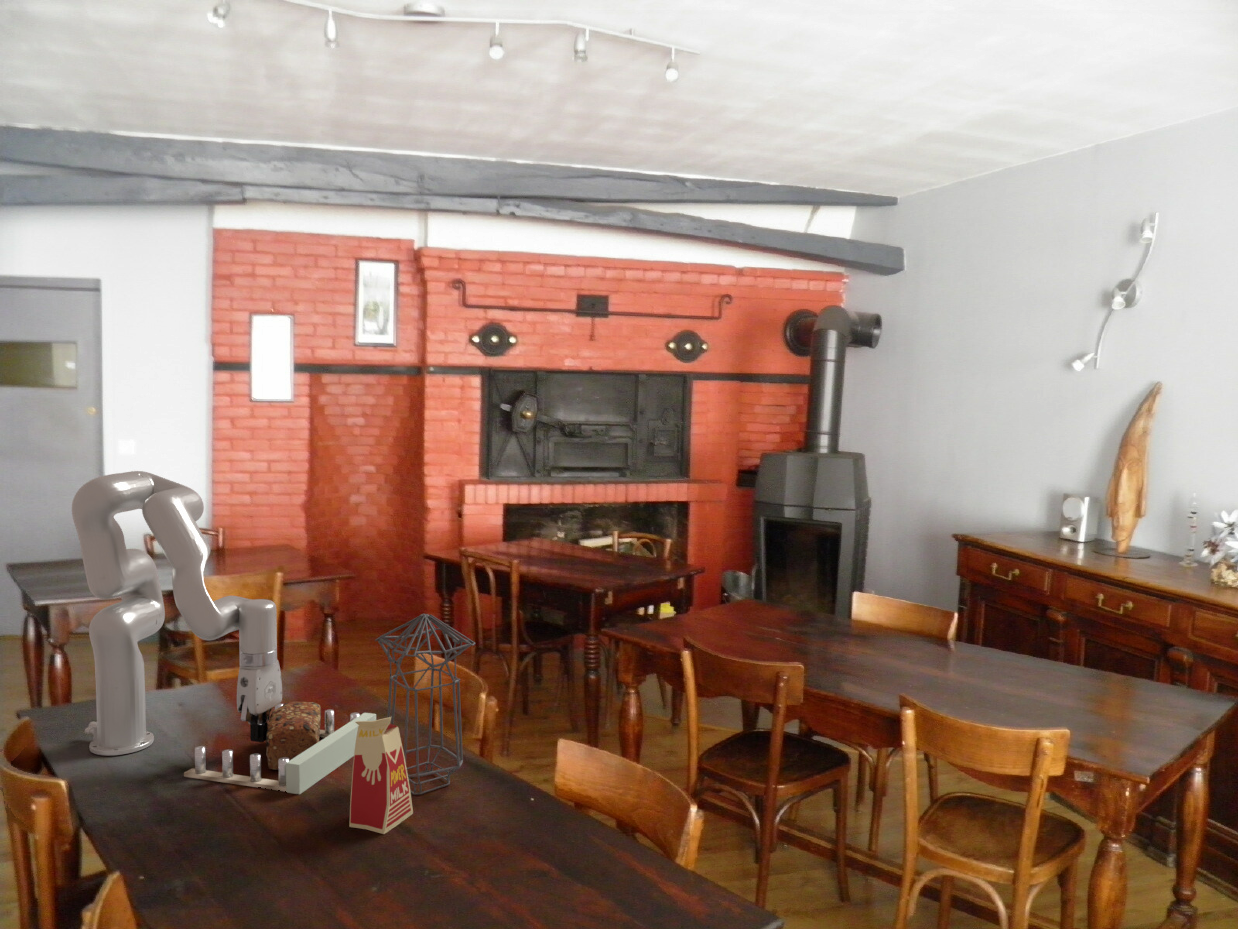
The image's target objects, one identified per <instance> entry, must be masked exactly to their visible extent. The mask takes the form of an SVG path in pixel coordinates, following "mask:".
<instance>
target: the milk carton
mask: <svg viewBox="0 0 1238 929" xmlns="http://www.w3.org/2000/svg"><path fill="white" fill-rule="evenodd" d="M391 717H392V716H390V717H388V718H387V717H384V718H380V719H376V720H375V721H356V722H355V723H357V724H358V725H359V726H358V731H357V737H356V743H355V752H354V756H353V762H352V773H351V787H350V800H349V804H350V805H349V824H348V825H349V828H356V829H362V830H368V831H371V832H375V833H377V834H378V833H379V834H381V835H385V834H387V833H388V832H390V831H391V830H392V829H394V828H395V827H397V826H398V825H400V824H401V823H403V822H404V821H405V820H407V819H408V818H409V817H410V816H412V815H413V814H414V809H413V802H412V793H411V792H410V790H411V786H410V781H409V779H410V778H409V779H408V775H409V773H408V770H407V768H408V767H407V761H406V762H405V756H404V752H403V751H404V746H403V743H402V738H401V734H400V728H399V726H398V725H395V724H394V725H393V724H391Z"/></svg>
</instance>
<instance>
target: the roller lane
mask: <svg viewBox="0 0 1238 929" xmlns="http://www.w3.org/2000/svg"><path fill="white" fill-rule="evenodd" d="M284 704H285V703H282V702H280V703H279V704H278V705H276V706H275V707H274V710H276V709H277V708H279V707H281V706H283V705H284ZM349 717H350V719H349V720H350V721H349V722H347V723H346V724H345V725H343V726H341V727H340V728H338V729H336V730H335V710H334V709H327V710H326V709H325V710H324V729H320V735H319V738H320V737H321V738H322V739H321V738H320V739H321V740H319V742H318V743H316V744H315V745H313V746H312V747H310V748H309V749H307V750H305V751H304V752H302V753H301V754H299V755H298V756H296V757H295V758H293V759H291V760H290V761H289V758H288V757H283V758H280V759H279V760H278V765H279V770H278V780H276V779H269V778H262V758H261V757H262V754H261V753H259V752H258V753H252V754H250V755H249V775H250V776H248V775H242V774H234V750H233V749H224V750H222V752H221V757H222V758H221V759H222V760H221V761H222V762H221V764H222V765H221V770H222V771H221V772H220V771H213V770H207V767H206V766H207V765H206V764H207V762H206V761H207V760H206V746H205V745H198V746H195V747H194V767H191V768H189V769H188V770H185V771H184V772H183V777H185V778H189V779H198V780H199V779H200V780H204V781H212V782H218V783H219V782H220V783H225V784H232V785H233V784H234V785H238V786H247V787H251V788H258V787H261V788H260V789H265V788H266V789H267V790H271V789H272V790H273V791H278V790H280V791H279V792H285V791H286V792H287V793H288V794H295V795H301V794H302V793H304V792H305V791H307V790H308V789H310V788H311V787H313V786H314V785H315V784H316V783H318V782H319V781H320V780H322V779H324V777H326V776H328V775H329V774H330V773H331V772H333V771H335V770H336V769H337V768H339V767H340V766H342V765H343V764H345V763H346V762H347V761H350V760H351V759H352V758H354V752H355V743H356V737H357V731H358V726H359V725H358V724H357V723H355V722H356V721H375V720H377V714H376V713H372V712H363V713H362V714H360V713H359V712H351V713H350V716H349Z"/></svg>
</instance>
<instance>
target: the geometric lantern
mask: <svg viewBox="0 0 1238 929" xmlns="http://www.w3.org/2000/svg"><path fill="white" fill-rule="evenodd" d="M407 626H408V627H407ZM435 626H436V627H435ZM405 627H407V628H406V629H404V631H402V633H400V635H392V634H393V633H395V632H397V631H399V630H401V629H403V628H405ZM428 627H429V629H428ZM415 628H416V630H415V631H414V629H415ZM413 631H414V633H413V634H411V633H412V632H413ZM436 631H441V632H442V634H443V636H444V638H445V641H446V643H447V645H448V647H449V648H448V649H445V647H444V644H443V642H442V641H441V640H440V637H439V636H438V634H437V632H436ZM423 635H425V636H426V637H425V638H424V639H423V640H422V641H421V639H422V636H423ZM432 635H433V636H434V637H435V640H436V642H437V644H438V645H439V646H440V648H441V650H432V649H431V648H432V647H431V641H430V638H431V636H432ZM408 638H411V640H410V641H409V643H408V642H407V641H408ZM416 638H417V641H416V646H415V647H412V645H413V643H414V641H415V640H416ZM449 638H451V641H452V642H453V647H452V643H451V641H450V640H449ZM391 639H394V640H391ZM399 640H400V641H399ZM374 641H375V642H378V644H379V645H380V647H381V648H382V650H383V651H384V653H385V655H386V656H387V661H388V662H389V685H388V686H389V687H388V699H387V700H388V702H387V713H386V714H387V715H386V718H388V717H391V721H390V724H393V725H395V724H394V722H395V721H394V720H395V711H396V698H397V685H399V686H400V687H402V688H403V689H405V690H406V700H405V702H406V703H405V717H404V718H405V719H404V739H403V741H404V742H403V752H404V756H405V762H406V763H407V754H408V753H412V752H415V764H414V765H412V766H411V765H410V766H408V767H406V768H407V771H408V770H411V769H414V768H415V769H416V770H415V772H416V773H414V774H408V779H409V783H411V784H412V785H413V791H412V789H410V792H411V795H414V796H418V795H424V794H427V793H429V792H431V791H432V792H433V791H435V790H438V789H440V788H444V787H447V786H450V783H451V775H452V774H454V773H455V772H457V771H458V770H459V769H460V768H461V767H462V764H463V762H464V754H463V753H464V751H463V735H462V734H463V732H462V730H463V729H462V712H461V711H462V707H461V688H460V687H461V684H460V682H461V678H458V677H457V656H461V655H462V653H463V652H464V651H466V650H467V649H469V648H470V647H473V646H474V645H476V642H475V641H473V640H472V639H470V638H469V637H467V636H466V635H464V634H462V633H461V632H459V631H458V630H456V629H455V628H453V627H451V626H450V625H448V624H447V623H446V622H445V623H444V621H442V620H440V619H439V618H437V617H436V616H434V615H433V614H428V613H422V614H420V615H419V616H417V617H414V618H413V619H410V620H409V621H407V622H405V623H404V624H401V625H400V626H398V627H395V628H394V629H392V630H389V631H388V632H386V633H383V634H381V635H379V637H377V638H376V639H375V640H374ZM398 641H399V642H398ZM403 643H404V646H403V645H402V644H403ZM407 643H408V644H407ZM425 643H427V649H428V650H420V649H421V648H422V646H423V645H424V644H425ZM463 643H465V644H463ZM385 645H387V647H385ZM457 645H459V646H457ZM394 646H395V647H394ZM399 648H400V649H402V650H398V649H399ZM390 649H391V651H390ZM457 650H458V651H457ZM410 651H414V652H413V653H412V654H409V652H410ZM390 652H391V654H392V656H391V655H390ZM395 653H397V654H400V657H398V658H397V659H396V657H395ZM453 653H454V654H453ZM425 654H427V655H429V656H430V660H431V662H429V661H428V659H427V658H426V657H425V656H424V655H425ZM437 654H438V655H439V654H444V661H443V662H439V663H436V664H434V655H437ZM452 654H453V655H452ZM420 655H421V656H420ZM450 656H451V657H450ZM405 657H413V658H415V657H416V658H417V659H418V660H420V661H421V662H423V663H425V664H426V665H428V667H427V668H423V669H418V670H412V671H407V672H403V671H402V669H401V666H402V662H403V658H405ZM452 660H454V675H453V672H452V671H451V668H450V666H449V664H448V663H450V661H452ZM392 663H393V664H394V665H395V666H396V670H395V673H394V674H393V675H392ZM437 667H440V668H437ZM444 667H446V669H447V671H446V670H444V669H443V668H444ZM428 671H430V672H431V673H430V675H431V676H430V687H429V686H428V687H424V688H416V687H417V685H418V684H419V683H420V681H421V680H422V679H423V677H424V676H425V674H427V672H428ZM420 672H423V673H422V674H421V676H420V677H419V679H418V680H417V682H416V683H415V684H414V686H413V687H410V686H409V684H408V682H407V680H406V677H405V675H409V674H415V673H420ZM435 672H438V685H434V683H435V682H434V680H435V675H434V674H435ZM442 673H443V674H445V675H447V676H449V677H450V678H451V681H452V682H450V683H444V684H443V682H442V680H443V679H442ZM398 676H400V677H401V679H402V681H403V683H404V684H402V683H400V682H399V681H398ZM447 686H452V701H453V702H452V704H453V716H454V732H455V734H454V735H455V749H456V750H455V752H456V754H455V753H453V752H452V751H450V750H449V749H447V748H446V747H444V726H443V725H444V723H443V722H444V721H443V720H444V718H443V687H447ZM436 688H438V692H439V694H438V696H439V697H438V698H439V732H440V734H439V735H440V737H439V738H440V745H436V744H435V745H434V744H432V730H433V729H432V726H433V724H432V723H433V706H434V705H433V704H434V702H433V700H434V699H433V698H434V689H436ZM429 689H430V694H429V695H430V698H429V716H428V717H429V721H428V723H429V724H428V739H427V740H428V741H427V745H423V746H419V719H418V718H419V715H418V710H419V709H418V705H419V704H418V692H421V691H426V690H429ZM392 690H393V693H392ZM456 690H457V691H456ZM410 691H411V692H414V728H415V730H414V733H415V736H414V737H415V748H412V749H408V732H409V730H408V729H409V728H408V727H409V713H410V712H409V710H410V709H409V707H410ZM456 692H457V694H456ZM392 694H393V696H392ZM456 696H457V697H456ZM391 706H392V707H391ZM431 748H432V749H438V751H437V753H436V755H435V756H434V757H433V760H432V761H431V762H430V750H431ZM425 749H427V756H426V761H425V762H422V763H420V762H419V761H420V760H419V757H420V756H419V755H420V754H419V751H420V750H425ZM442 751H444V752H445V753H447V754H448V755H450V756H452V757H453V758H455V759H456V765H453V766H449V767H444V768H443V767H441V766H439V765H438V764H437V763H434V762H435V761H436V760H437V758H438V756H439V754H440V752H442ZM423 765H425V770H423V771H420V766H423ZM428 765H430V769H429V768H428ZM434 767H436V768H438V769H436V770H434ZM443 772H445V773H446V774H444V775H442V774H440V773H443ZM434 774H435V775H436V776H437V777H434V778H430V779H425V780H423V781H421V780H420V777H421V778H422V777H425V776H429V775H430V776H431V775H434ZM411 778H417V782H415V781H413V780H412V779H411ZM439 779H440V780H441V779H442V780H444V781H446V783H445V784H442V785H438V786H436V787H432V788H430V789H428V790H427V789H426V790H423V791H422V787H423V786H422V784H426V783H428V782H432V781H435V780H436V781H437V780H439ZM417 786H419V792H417Z"/></svg>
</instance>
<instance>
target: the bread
mask: <svg viewBox="0 0 1238 929" xmlns="http://www.w3.org/2000/svg"><path fill="white" fill-rule="evenodd" d="M283 704H284V705H283V706H281V707H279V708H277V709H276V710H275V709H274V710H273V711H272V712H271V713H270V714H271V715H270V717H269V721H268V725H267V726H268V731H267V733H266V741H265V747H266V750H265V751H266V757H267V766H268V769H269V770H274V771H279V765H278V760H279V759H280V758H283V757H288V758H289V761H290V760H291V759H293V758H295V757H296V756H298V755H299V754H301V753H302V752H304V751H305V750H307V749H309V748H310V747H312V746H313V745H315V744H316V743H318V742H319V741H320V737H319V735H320V730H321V721H322V720H321V719H322V718H321V717H322V708H321V704H318V702H317V703H316V702H313V701H311V702H309V701H291V702H286V703H283Z"/></svg>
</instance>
